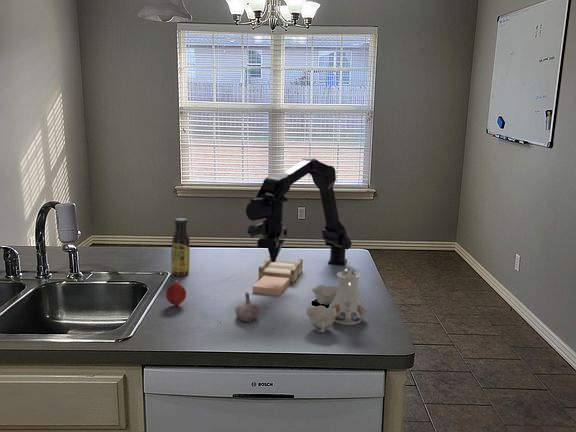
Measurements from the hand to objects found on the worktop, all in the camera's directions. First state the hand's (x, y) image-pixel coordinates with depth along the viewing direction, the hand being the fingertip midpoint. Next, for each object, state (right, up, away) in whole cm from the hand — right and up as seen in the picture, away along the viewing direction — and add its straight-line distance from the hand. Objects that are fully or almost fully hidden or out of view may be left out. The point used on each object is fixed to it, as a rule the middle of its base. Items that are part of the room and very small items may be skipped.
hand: (273, 261), depth 185 cm
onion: (-29, -12, -18) cm, 36 cm away
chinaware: (+19, -14, -25) cm, 34 cm away
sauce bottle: (-33, -5, +11) cm, 35 cm away
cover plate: (-1, -9, -1) cm, 9 cm away
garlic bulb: (-7, -14, -26) cm, 30 cm away
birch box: (+2, -6, +12) cm, 13 cm away
